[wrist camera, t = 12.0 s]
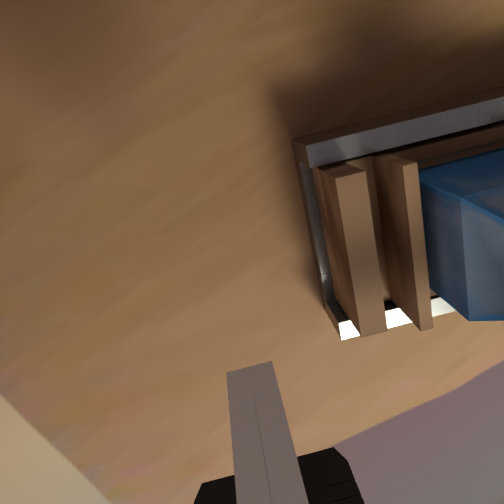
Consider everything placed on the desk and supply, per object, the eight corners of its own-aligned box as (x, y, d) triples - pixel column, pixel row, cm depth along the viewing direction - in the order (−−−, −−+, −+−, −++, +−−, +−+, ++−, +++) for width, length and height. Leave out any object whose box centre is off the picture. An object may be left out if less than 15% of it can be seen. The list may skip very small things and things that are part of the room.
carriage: (311, 164, 26) (339, 181, 20) (505, 115, 26) (588, 119, 20) (335, 297, 29) (366, 345, 23) (509, 253, 29) (582, 290, 23)
